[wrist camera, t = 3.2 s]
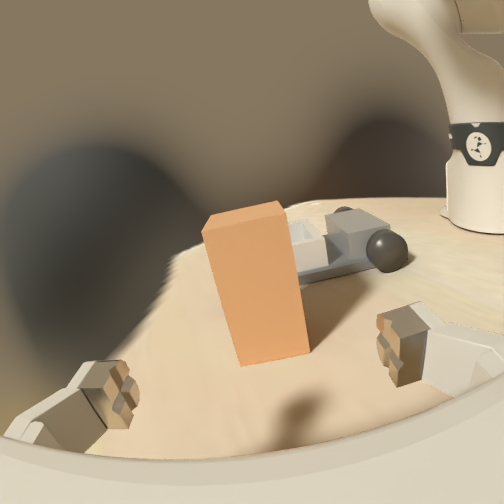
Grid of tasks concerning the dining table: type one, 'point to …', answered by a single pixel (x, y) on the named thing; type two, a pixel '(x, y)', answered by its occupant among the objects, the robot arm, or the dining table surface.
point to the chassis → (345, 246)
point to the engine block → (257, 282)
